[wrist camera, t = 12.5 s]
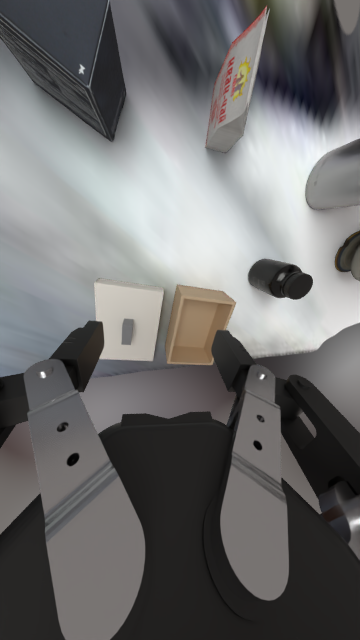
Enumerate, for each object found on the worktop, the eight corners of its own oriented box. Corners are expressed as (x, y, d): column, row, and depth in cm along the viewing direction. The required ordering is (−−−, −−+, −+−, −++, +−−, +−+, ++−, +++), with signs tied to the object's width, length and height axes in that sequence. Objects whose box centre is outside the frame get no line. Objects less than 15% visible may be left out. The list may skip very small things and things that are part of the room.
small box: (128, 88, 22) (113, -8, 13) (113, 144, 25) (90, 94, 16) (40, 7, 18) (-67, -208, 9) (31, 81, 21) (-62, -33, 12)
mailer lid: (162, 287, 37) (164, 297, 31) (152, 352, 46) (152, 369, 40) (99, 278, 34) (89, 287, 28) (101, 350, 43) (94, 367, 37)
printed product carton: (237, 91, 24) (285, 14, 15) (225, 153, 27) (260, 117, 19) (214, 83, 23) (251, -2, 15) (205, 147, 26) (231, 108, 18)
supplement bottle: (268, 286, 41) (308, 305, 31) (244, 286, 40) (276, 305, 30) (278, 258, 38) (325, 268, 27) (251, 257, 37) (291, 268, 26)
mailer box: (223, 291, 40) (236, 302, 34) (204, 348, 48) (211, 365, 42) (176, 284, 37) (181, 295, 31) (165, 345, 45) (167, 363, 39)
